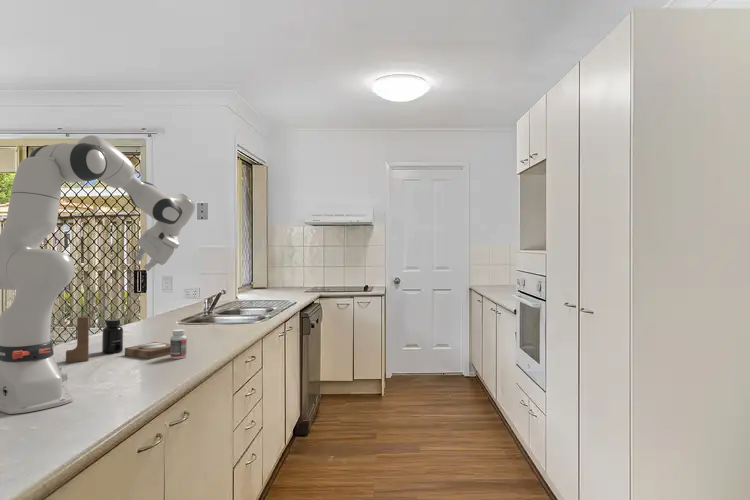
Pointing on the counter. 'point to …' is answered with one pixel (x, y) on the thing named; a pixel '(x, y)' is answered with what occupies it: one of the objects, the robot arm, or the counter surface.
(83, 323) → the wooden block
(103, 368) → the counter surface
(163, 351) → the walnut base
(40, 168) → the robot arm
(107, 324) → the supplement bottle
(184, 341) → the pill bottle
